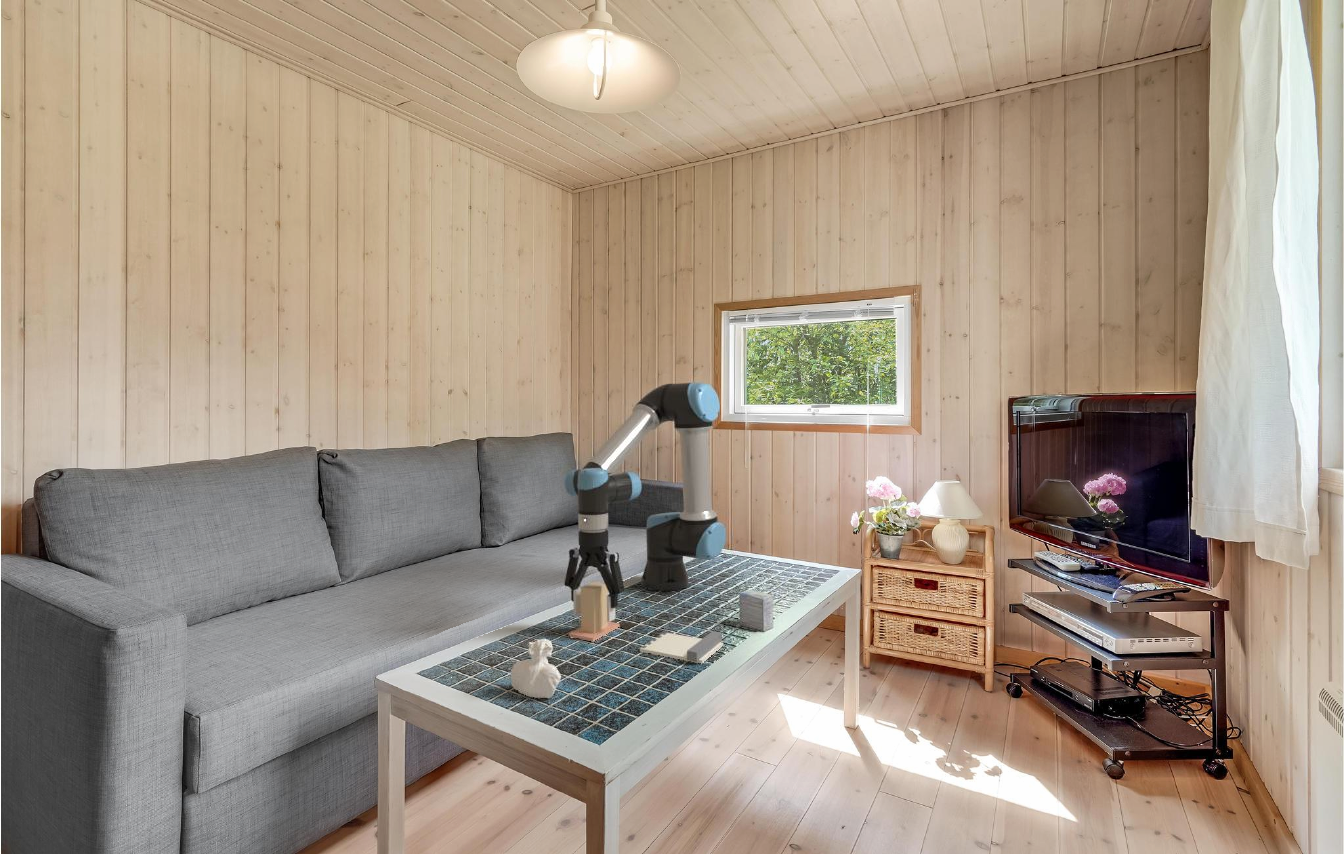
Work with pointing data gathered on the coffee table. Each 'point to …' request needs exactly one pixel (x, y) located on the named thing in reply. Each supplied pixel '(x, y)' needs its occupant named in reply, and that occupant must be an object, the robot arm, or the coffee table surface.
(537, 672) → the white tied sack
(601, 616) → the stub
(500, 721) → the coffee table surface
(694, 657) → the cream flat slab
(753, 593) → the grey rectangular block
